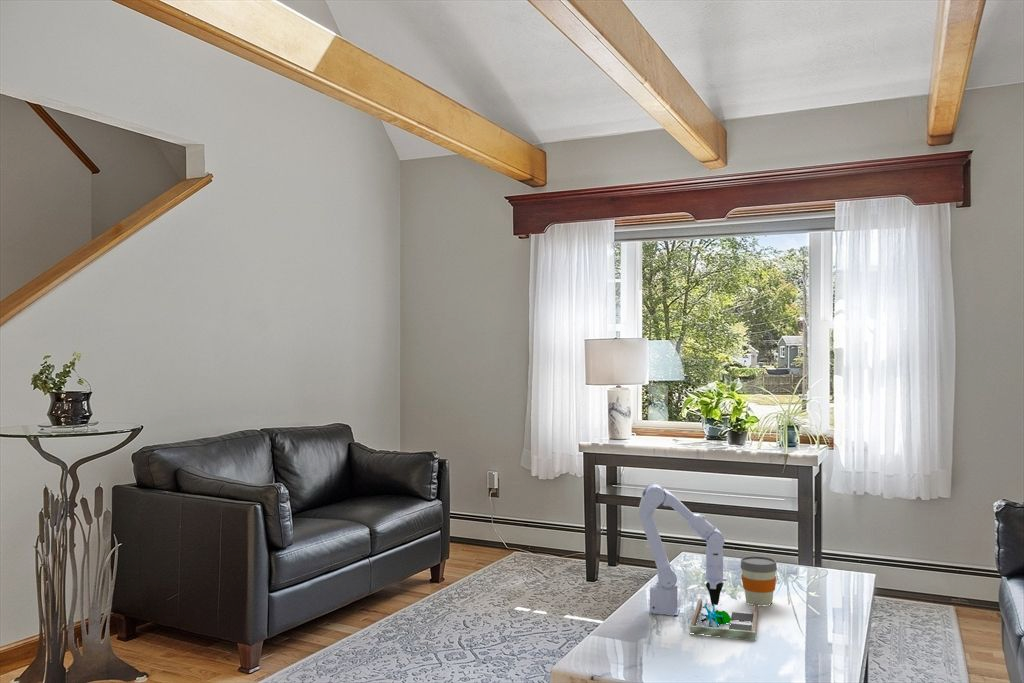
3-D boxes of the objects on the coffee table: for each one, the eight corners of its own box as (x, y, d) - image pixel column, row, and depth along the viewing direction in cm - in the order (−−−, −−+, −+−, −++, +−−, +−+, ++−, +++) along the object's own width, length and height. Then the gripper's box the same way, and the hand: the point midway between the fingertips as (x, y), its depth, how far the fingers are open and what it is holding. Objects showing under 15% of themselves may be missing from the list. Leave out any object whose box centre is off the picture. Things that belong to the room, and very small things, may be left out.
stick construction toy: (708, 624, 267) (702, 600, 272) (694, 631, 272) (689, 608, 277) (735, 628, 272) (730, 605, 277) (721, 636, 277) (716, 613, 282)
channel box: (690, 634, 264) (690, 626, 264) (699, 606, 293) (699, 599, 293) (755, 640, 258) (755, 632, 258) (758, 611, 286) (758, 603, 286)
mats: (728, 632, 266) (728, 631, 266) (732, 612, 285) (732, 612, 285) (751, 634, 264) (750, 633, 264) (753, 614, 283) (753, 613, 283)
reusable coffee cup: (738, 605, 293) (738, 563, 293) (743, 595, 304) (742, 554, 305) (776, 609, 288) (775, 566, 288) (778, 599, 300) (778, 557, 300)
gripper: (725, 571, 277) (725, 611, 277) (728, 560, 291) (728, 599, 290) (703, 569, 279) (703, 609, 279) (707, 558, 293) (707, 597, 293)
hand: (714, 604), depth 285 cm, fingers closed
